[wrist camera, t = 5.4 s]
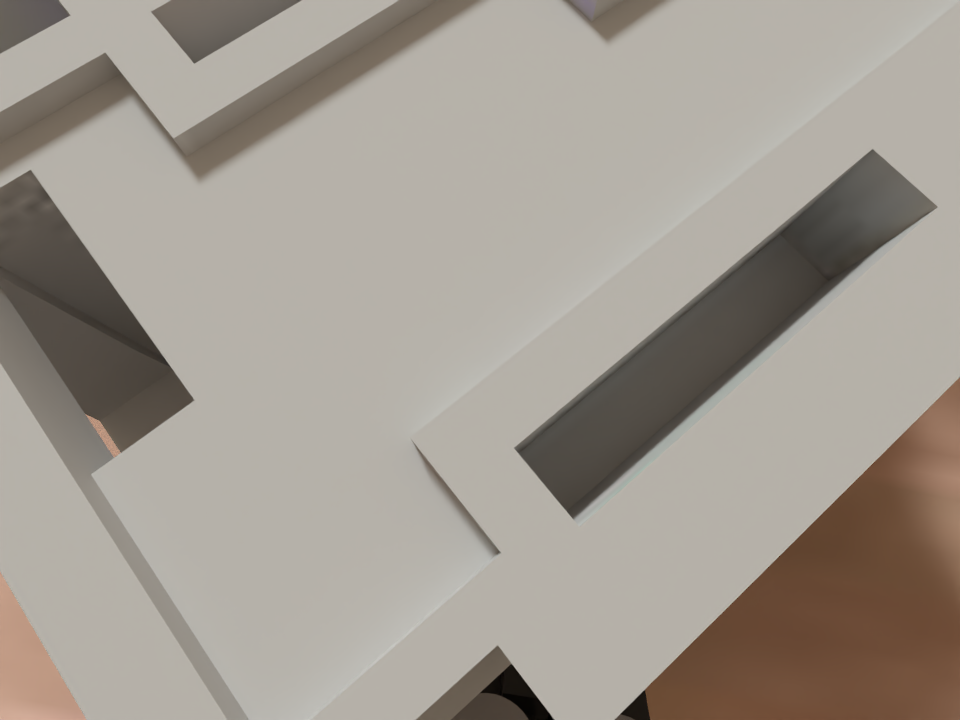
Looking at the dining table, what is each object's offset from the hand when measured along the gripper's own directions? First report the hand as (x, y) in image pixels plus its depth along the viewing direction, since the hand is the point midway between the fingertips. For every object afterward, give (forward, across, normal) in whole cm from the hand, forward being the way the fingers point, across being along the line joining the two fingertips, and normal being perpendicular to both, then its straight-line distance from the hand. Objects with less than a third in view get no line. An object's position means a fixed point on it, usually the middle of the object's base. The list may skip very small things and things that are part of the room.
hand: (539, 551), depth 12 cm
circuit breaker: (+8, 0, -1) cm, 8 cm away
